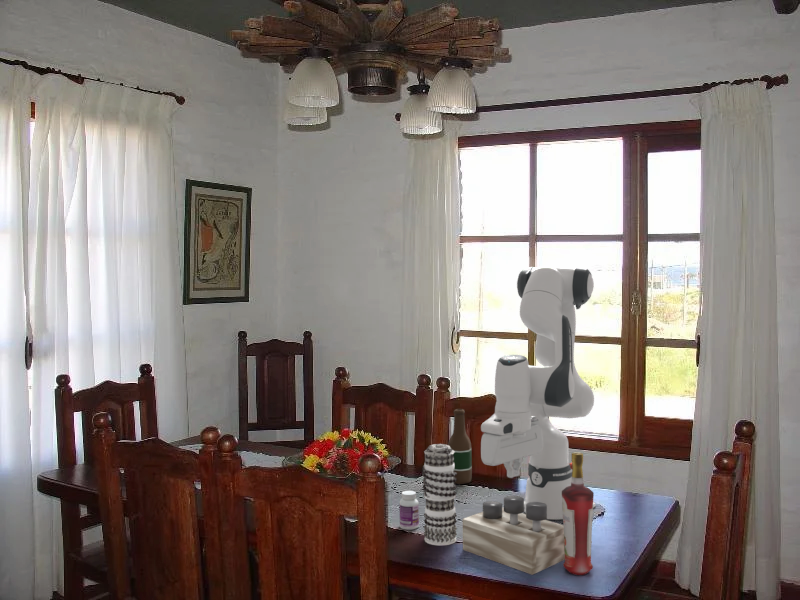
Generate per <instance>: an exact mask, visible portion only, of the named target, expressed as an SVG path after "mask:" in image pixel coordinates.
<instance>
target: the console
mask: <svg viewBox="0 0 800 600" xmlns="http://www.w3.org/2000/svg"><path fill="white" fill-rule="evenodd" d="M461 521H462V550H463V551H465V552H468V553H471V554H473V555H476V556H479V557H482V558H484V559H488V560H490V561H493V562H495V563H498V564H501V565H504V566H507V567H510V568H512V569H516V570H518V571H521V572H523V573H526V574H528V575H532V576H533V575H535V574H537V573H540V572H541V571H543V570H546V569H548V568H550V567H552V566H555V565H557V564H559V563H561V562H564V561H565V544H564V525H563V524H560V523H557V522H554V521H551V520H548V519H546V520H542V521H541V531H540V532H534V531H533V526H532V520H529V519H527V518H526V513H524V512H523V513H520V514H518V525H512V524H510V514H509V513H506V512H504V506H502V518H499V519H487V518H484V517H483V511H481V512H478V513H475V514H472V515H469V516H467V517H466V516H465V517H464V518H462V520H461Z"/></svg>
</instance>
